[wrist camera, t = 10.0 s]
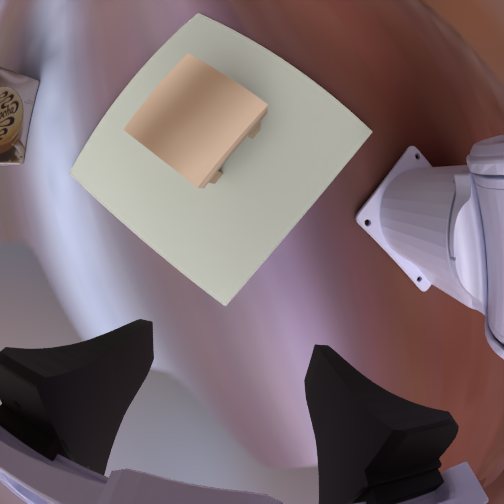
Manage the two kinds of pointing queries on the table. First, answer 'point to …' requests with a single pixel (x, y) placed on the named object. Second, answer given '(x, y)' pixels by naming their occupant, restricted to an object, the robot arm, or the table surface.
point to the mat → (234, 169)
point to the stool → (197, 120)
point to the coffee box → (15, 114)
